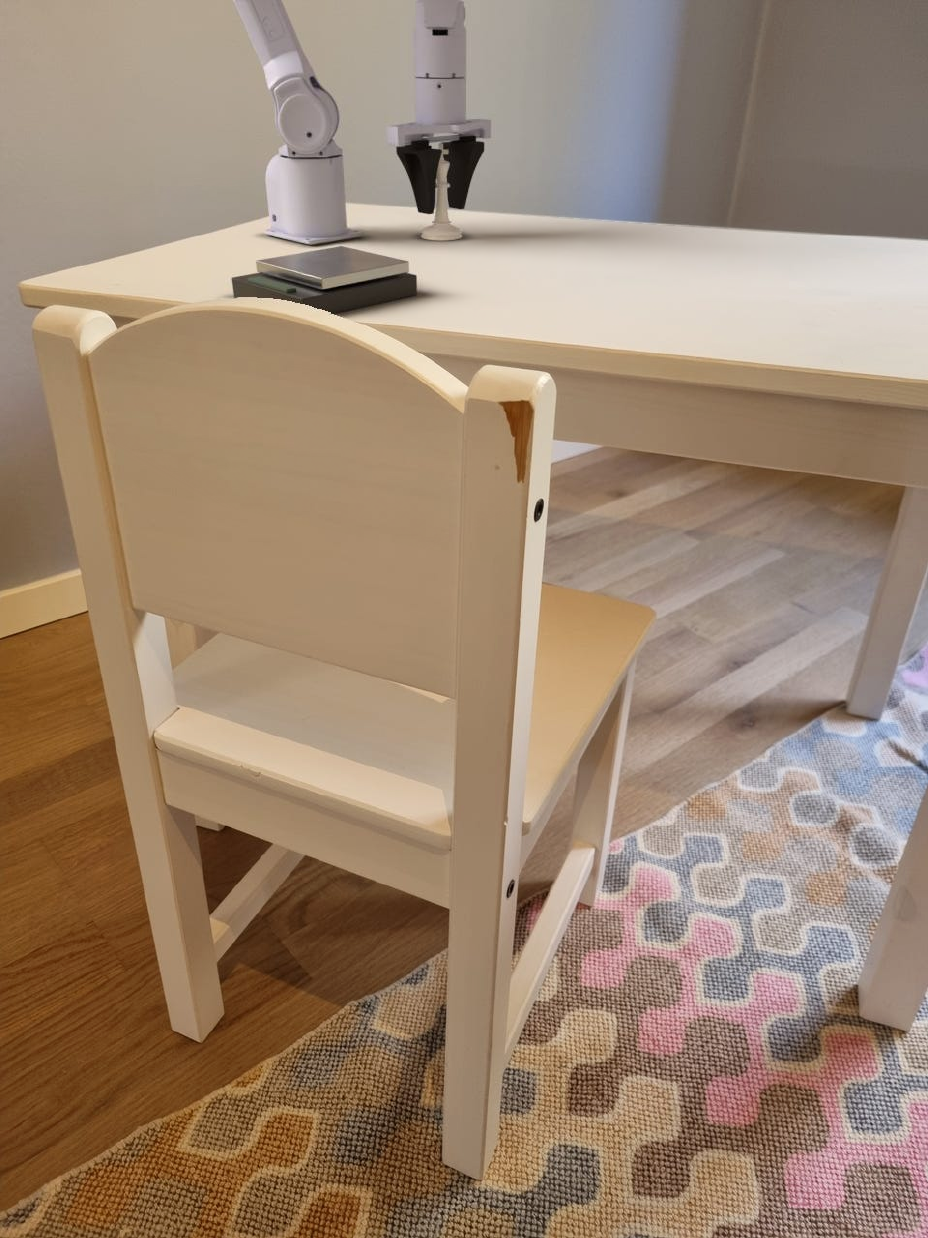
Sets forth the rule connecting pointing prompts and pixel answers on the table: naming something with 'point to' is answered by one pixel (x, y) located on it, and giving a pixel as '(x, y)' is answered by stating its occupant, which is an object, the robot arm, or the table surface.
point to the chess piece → (441, 208)
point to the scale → (326, 291)
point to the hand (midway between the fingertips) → (441, 210)
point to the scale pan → (332, 267)
